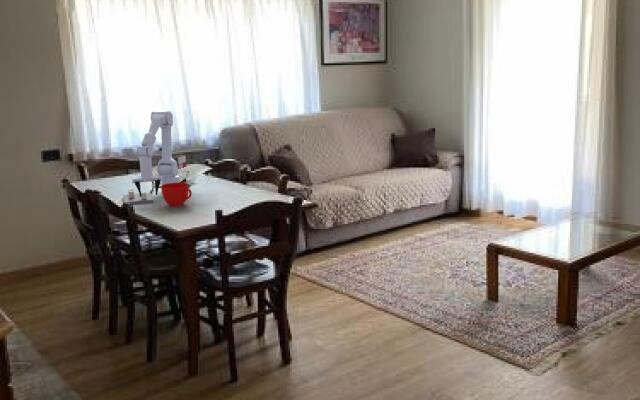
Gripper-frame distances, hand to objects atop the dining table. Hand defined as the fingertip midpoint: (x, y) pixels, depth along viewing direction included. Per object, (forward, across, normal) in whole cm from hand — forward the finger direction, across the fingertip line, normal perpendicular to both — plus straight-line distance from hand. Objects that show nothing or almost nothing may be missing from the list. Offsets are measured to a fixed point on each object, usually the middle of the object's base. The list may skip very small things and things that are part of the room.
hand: (148, 195), depth 304 cm
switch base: (+3, -5, +6) cm, 8 cm away
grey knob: (+1, -8, +12) cm, 14 cm away
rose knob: (+1, -8, +6) cm, 10 cm away
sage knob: (+1, -2, 0) cm, 3 cm away
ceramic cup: (+3, +13, -16) cm, 21 cm away
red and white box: (+3, +22, +48) cm, 53 cm away
